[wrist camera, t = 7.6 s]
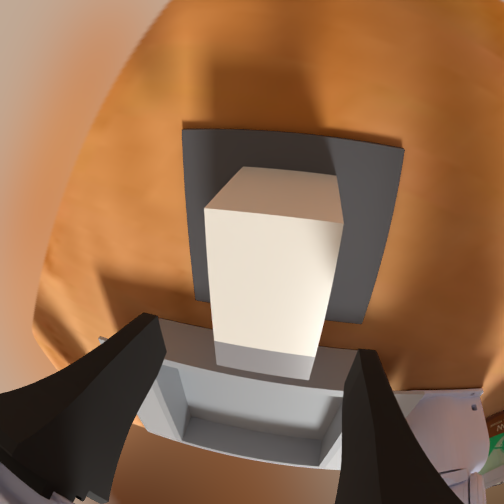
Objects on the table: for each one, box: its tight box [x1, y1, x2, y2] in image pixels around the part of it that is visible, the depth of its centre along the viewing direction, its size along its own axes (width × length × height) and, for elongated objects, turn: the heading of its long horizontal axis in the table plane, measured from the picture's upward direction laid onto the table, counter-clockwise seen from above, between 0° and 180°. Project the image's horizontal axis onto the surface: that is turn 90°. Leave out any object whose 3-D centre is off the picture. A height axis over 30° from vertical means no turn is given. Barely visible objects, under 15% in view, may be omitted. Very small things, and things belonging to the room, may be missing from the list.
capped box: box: [204, 166, 344, 380], centre depth 15 cm, size 5×9×6 cm, turn 179°
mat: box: [182, 129, 405, 324], centre depth 18 cm, size 12×12×1 cm
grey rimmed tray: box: [98, 318, 425, 470], centre depth 26 cm, size 26×18×4 cm
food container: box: [478, 410, 504, 489], centre depth 20 cm, size 12×6×10 cm, turn 113°
